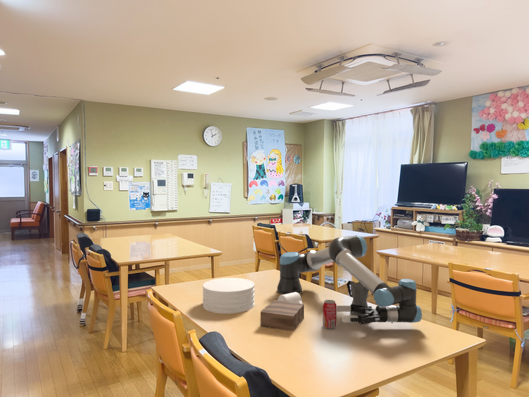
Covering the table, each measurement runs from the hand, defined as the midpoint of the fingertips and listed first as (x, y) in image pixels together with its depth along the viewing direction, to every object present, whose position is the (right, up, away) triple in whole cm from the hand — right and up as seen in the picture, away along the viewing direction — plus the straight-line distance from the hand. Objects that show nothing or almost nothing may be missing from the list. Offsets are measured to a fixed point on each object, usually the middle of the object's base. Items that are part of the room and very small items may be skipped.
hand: (339, 313), depth 176 cm
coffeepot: (+13, -6, +19) cm, 24 cm away
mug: (-20, -6, +25) cm, 33 cm away
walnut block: (-26, -6, +7) cm, 27 cm away
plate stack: (-54, -6, +33) cm, 63 cm away
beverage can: (-4, -7, +1) cm, 8 cm away
